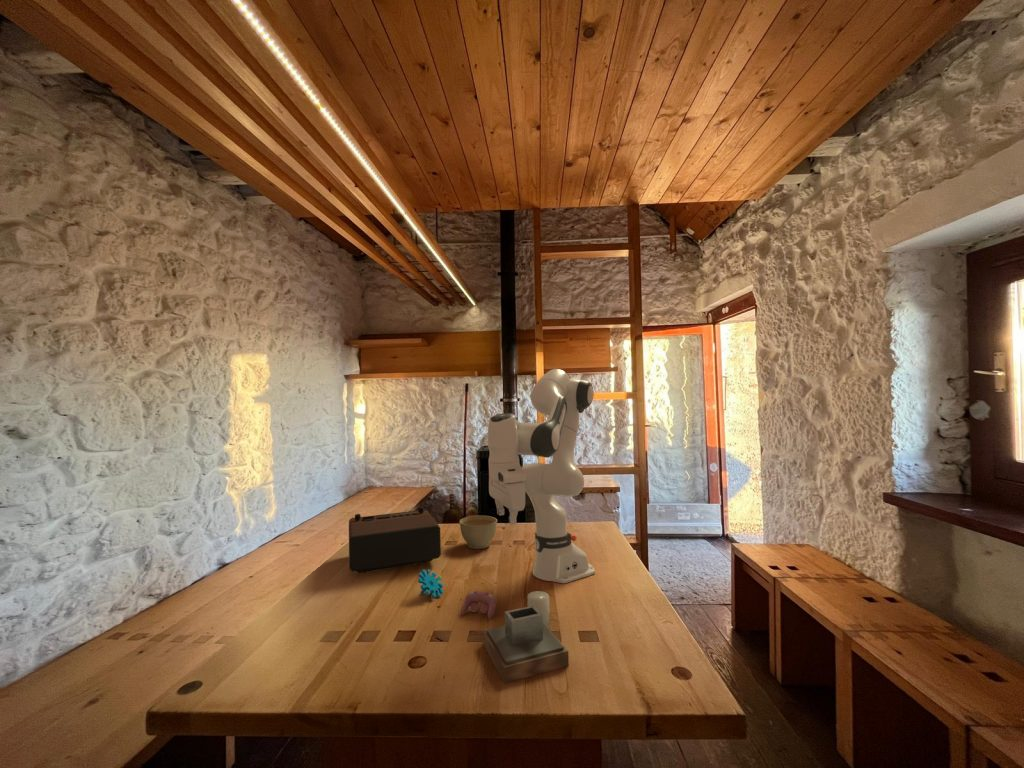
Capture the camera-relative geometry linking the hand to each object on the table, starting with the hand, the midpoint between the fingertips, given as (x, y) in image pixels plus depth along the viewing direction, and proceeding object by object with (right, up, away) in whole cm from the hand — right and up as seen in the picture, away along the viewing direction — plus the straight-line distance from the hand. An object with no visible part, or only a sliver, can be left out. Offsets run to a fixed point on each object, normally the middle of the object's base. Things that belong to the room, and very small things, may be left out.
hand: (506, 519), depth 121 cm
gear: (-25, -30, +17) cm, 42 cm away
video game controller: (-8, -29, +4) cm, 31 cm away
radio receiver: (-44, -32, +47) cm, 72 cm away
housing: (+4, -24, -17) cm, 30 cm away
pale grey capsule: (+9, -28, -4) cm, 30 cm away
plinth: (+5, -28, -17) cm, 33 cm away
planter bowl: (-13, -32, +62) cm, 71 cm away
